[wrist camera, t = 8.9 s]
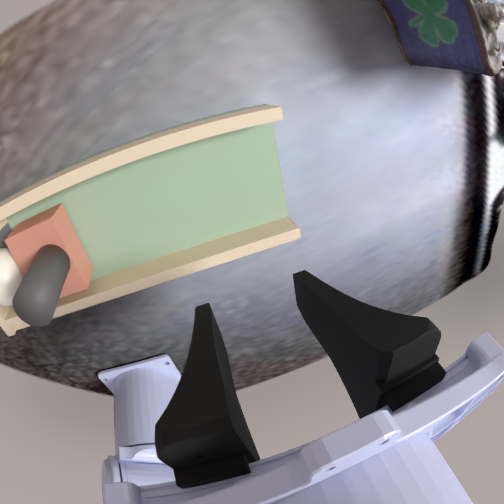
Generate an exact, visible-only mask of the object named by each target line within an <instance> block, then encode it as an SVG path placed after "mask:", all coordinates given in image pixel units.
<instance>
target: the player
mask: <svg viewBox="0 0 504 504" xmlns="http://www.w3.org/2000/svg"><path fill="white" fill-rule="evenodd" d="M4 241H5V243H6V245H7V246H8V248H9V250H10V252H11V254H12V256H13V258H14V259H15V261H16V263H17V265H18V266H19V268H20V270H21V272H22V273H23V275H24V277H23V279H22V281H21V283H20V285H19V287H18V289H17V291H16V293H15V295H14V297H13V301H12V303H13V308H14V311H15V313H16V314H17V315H18V317H19V318H20V319H21V320H22V321H24V322H25V323H27V324H29V325H31V326H35V327H44V326H47V325H48V324H49V323H50V322H51V321H52V319H53V315H54V312H55V309H56V306H57V303H58V300H59V298H62V297H65V296H67V295H70V294H73V293H76V292H79V291H82V290H85V289H88V286H89V282H90V278H91V275H92V271H93V266H92V264H91V262H90V260H89V258H88V256H87V254H86V252H85V250H84V248H83V246H82V244H81V242H80V240H79V238H78V236H77V234H76V232H75V230H74V227H73V225H72V223H71V221H70V219H69V216H68V214H67V212H66V210H65V207H64V205H63V203H61V204H58V205H56V206H54V207H52V208H50V209H47V210H45V211H43V212H41V213H39V214H37V215H35V216H33V217H31V218H28V219H26V220H24V221H22V222H20V223H18V224H17V226H16V227H15V228H14V229H13V230H12V232H11V233H10V234H9V235H8V237H7V238H6V239H5V240H4Z"/></svg>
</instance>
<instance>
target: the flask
mask: <svg viewBox="0 0 504 504" xmlns="http://www.w3.org/2000/svg"><path fill="white" fill-rule="evenodd" d="M379 2H380V3H381V6H382V10H383V12H384V15H385V16H386V19H387V20H388V22H390V23H391V25H393V28H394V31H393V33H394V34H395V35H396V36H397V38H398V43H399V44H398V45H399V46H400V48H401V52H402V55H403V58H404V59H405V60H406V61H407V62H408V63H410V65H411V66H412V64H413V65H418V66H427V67H438V68H443V69H444V68H446V69H455V70H459V71H467V72H473V73H478V74H484V75H488V76H495V75H496V74H497V73H499V71H500V69H501V67H502V60H501V54H502V49H501V45H500V43H499V45H498V38H497V32H496V31H497V30H498V28H499V25H500V22H499V21H500V20H504V12H503V10H502V7H504V4H502V3H501V6H502V7H501V6H500V5H496V4H495V3H492V4H491V3H490V2H489V1H488V3H486V2H485V0H379Z"/></svg>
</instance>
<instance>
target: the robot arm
mask: <svg viewBox="0 0 504 504" xmlns="http://www.w3.org/2000/svg"><path fill="white" fill-rule="evenodd" d="M293 279H294V286H295V294H296V301H297V306H298V308H299V310H300V312H301V314H302V316H303V318H304V320H305V322H306V323H307V325H308V326H309V328H310V329H311V331H312V332H313V334H314V335H315V337H316V338H317V339H318V341H319V342H320V344H321V345H322V347H323V348H324V350H325V351H326V352H327V354H328V356H329V357H330V359H331V360H332V362H333V364H334V366H335V368H336V369H337V372H338V373H339V375H340V377H341V379H342V381H343V383H344V385H345V387H346V389H347V392H348V394H349V396H350V398H351V400H352V402H353V404H354V407H355V409H356V411H357V413H358V416H359V418H360V419H359V420H357V421H355V422H354V423H351V424H349V425H347V426H345V427H343V428H341V429H338V430H336V431H334V432H332V433H330V434H327V435H325V436H323V437H320V438H319V439H316V440H314V441H312V442H309V443H307V444H304V445H302V446H299V447H296V448H294V449H291V450H288V451H286V452H283V453H280V454H277V455H275V456H271V457H269V458H265V459H262V460H260V457H259V455H258V452H257V450H256V447H255V444H254V442H253V439H252V437H251V434H250V431H249V429H248V426H247V423H246V421H245V418H244V415H243V412H242V410H241V407H240V404H239V401H238V398H237V395H236V391H235V387H234V383H233V378H232V374H231V369H230V365H229V360H228V355H227V351H226V348H225V345H224V342H223V339H222V335H221V332H220V330H219V327H218V325H217V322H216V320H215V317H214V315H213V312H212V309H211V307H210V304H209V303H207V304H204V305H201V306H197V307H196V308H195V320H194V329H193V335H192V340H191V345H190V349H189V353H188V357H187V361H186V364H185V367H184V370H183V373H182V375H181V374H180V372H179V371H178V369H177V368H176V366H175V365H174V363H173V361H172V360H171V358H170V357H169V356H168V355H160V356H157V357H153V358H150V359H146V360H143V361H139V362H135V363H132V364H128V365H124V366H120V367H116V368H112V369H108V370H104V371H100V372H99V373H98V377H99V379H100V380H101V381H102V382H103V383H104V384H105V385H106V386H107V387H108V388H109V390H110V391H111V392H112V393H113V394H114V429H115V449H116V455H115V456H108V458H107V459H105V460H104V461H103V464H102V494H103V503H104V504H473V503H472V501H471V500H470V498H469V496H468V495H467V493H466V492H465V490H464V489H463V487H462V486H461V484H460V482H459V481H458V479H457V478H456V476H455V475H454V473H453V472H452V470H451V469H450V467H449V466H448V464H447V462H446V461H445V459H444V458H443V456H442V455H441V454H440V452H439V451H438V449H437V448H436V446H435V445H434V443H433V442H435V441H436V440H437V439H439V438H440V437H441V436H443V435H444V434H445V433H446V432H447V431H449V430H450V429H451V428H453V427H454V426H455V425H456V424H457V423H458V422H460V421H461V420H462V419H463V418H464V417H465V416H467V415H468V414H469V413H470V412H471V411H472V410H473V409H475V408H476V407H477V406H478V405H479V404H480V403H481V402H482V401H483V400H484V399H486V398H487V396H489V395H490V394H491V393H492V392H493V391H494V390H495V389H496V388H497V386H498V385H499V384H500V382H501V381H502V380H503V378H504V349H503V348H502V347H501V346H500V345H499V344H498V343H497V342H496V341H495V340H494V339H493V338H492V337H491V336H490V335H489V334H488V333H487V332H483V333H482V334H481V335H480V336H478V337H477V338H476V339H475V340H474V341H472V342H471V344H470V345H469V346H468V348H467V350H466V353H465V354H464V355H463V356H462V357H460V358H459V359H458V360H456V361H455V362H453V363H452V364H451V365H449V366H448V367H447V368H445V369H443V367H442V366H441V365H440V364H439V363H438V361H439V358H438V356H437V355H436V354H435V352H436V349H437V347H438V344H439V342H440V338H441V332H440V331H439V329H438V328H437V327H436V326H435V325H434V324H433V323H432V322H431V321H430V320H429V319H428V318H426V317H417V316H409V315H404V314H399V313H394V312H390V311H387V310H383V309H380V308H377V307H374V306H371V305H368V304H366V303H363V302H361V301H358V300H356V299H354V298H352V297H350V296H348V295H346V294H344V293H342V292H340V291H338V290H336V289H335V288H333V287H331V286H329V285H328V284H326V283H324V282H323V281H321V280H320V279H318V278H317V277H315V276H313V275H312V274H310V273H309V272H307V271H305V270H303V271H301V272H298V273H295V274H293Z"/></svg>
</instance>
